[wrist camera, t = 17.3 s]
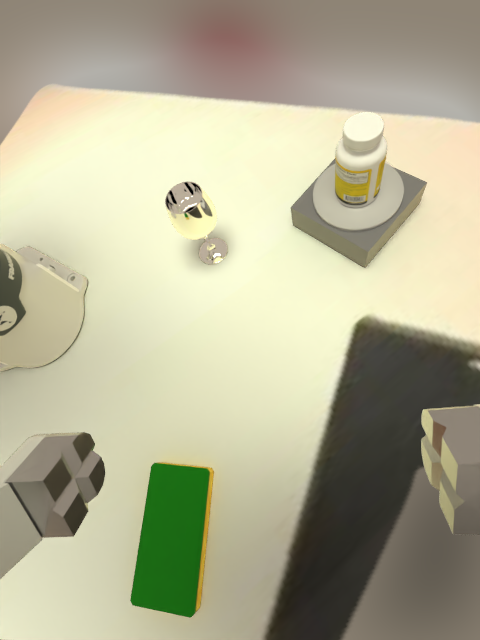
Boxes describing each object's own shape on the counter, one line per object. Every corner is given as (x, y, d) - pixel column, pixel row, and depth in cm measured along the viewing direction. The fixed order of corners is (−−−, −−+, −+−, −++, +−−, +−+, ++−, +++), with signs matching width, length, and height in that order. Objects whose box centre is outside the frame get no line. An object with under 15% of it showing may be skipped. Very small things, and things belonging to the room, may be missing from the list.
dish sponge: (215, 468, 42) (209, 468, 40) (201, 609, 37) (193, 618, 35) (160, 462, 44) (151, 462, 41) (140, 596, 39) (129, 604, 37)
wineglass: (217, 227, 54) (189, 169, 43) (239, 251, 51) (216, 196, 40) (187, 251, 53) (152, 199, 42) (209, 275, 51) (177, 227, 40)
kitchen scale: (293, 225, 51) (290, 203, 46) (347, 164, 52) (349, 138, 48) (364, 267, 46) (369, 248, 42) (421, 200, 48) (431, 174, 43)
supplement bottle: (363, 167, 46) (372, 98, 37) (388, 195, 44) (404, 128, 35) (326, 187, 46) (326, 123, 37) (349, 216, 44) (355, 155, 35)
